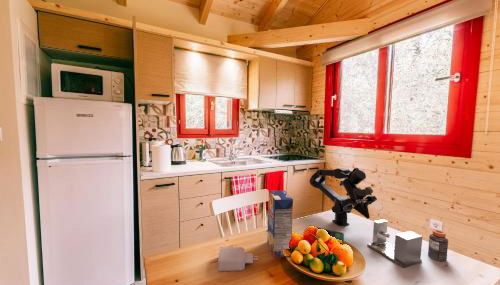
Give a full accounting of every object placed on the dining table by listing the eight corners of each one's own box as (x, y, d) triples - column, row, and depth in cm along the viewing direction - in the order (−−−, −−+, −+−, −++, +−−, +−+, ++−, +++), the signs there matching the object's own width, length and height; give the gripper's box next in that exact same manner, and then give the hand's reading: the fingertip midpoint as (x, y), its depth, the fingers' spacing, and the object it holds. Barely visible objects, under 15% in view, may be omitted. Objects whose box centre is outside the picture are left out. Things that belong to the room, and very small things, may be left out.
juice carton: (267, 241, 100) (268, 190, 98) (283, 240, 101) (284, 190, 99) (273, 257, 88) (275, 199, 86) (291, 256, 89) (293, 199, 87)
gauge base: (367, 245, 98) (368, 222, 97) (384, 241, 102) (386, 219, 101) (403, 267, 83) (405, 240, 82) (421, 261, 87) (424, 235, 86)
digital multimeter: (312, 230, 112) (313, 225, 112) (343, 237, 106) (344, 232, 106) (310, 237, 106) (310, 231, 105) (343, 245, 99) (343, 239, 99)
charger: (259, 271, 80) (218, 272, 79) (256, 256, 89) (220, 257, 88) (259, 259, 79) (218, 260, 79) (257, 245, 89) (220, 245, 88)
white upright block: (368, 243, 98) (370, 221, 97) (381, 240, 101) (383, 219, 100) (378, 249, 93) (380, 226, 92) (392, 245, 96) (394, 224, 95)
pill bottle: (443, 255, 92) (445, 229, 91) (449, 263, 87) (451, 236, 86) (425, 251, 94) (428, 226, 94) (430, 259, 89) (432, 232, 88)
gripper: (346, 182, 104) (364, 213, 95) (375, 179, 111) (394, 208, 101) (334, 193, 112) (349, 223, 103) (361, 190, 119) (378, 218, 109)
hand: (368, 218), depth 104 cm, fingers closed
